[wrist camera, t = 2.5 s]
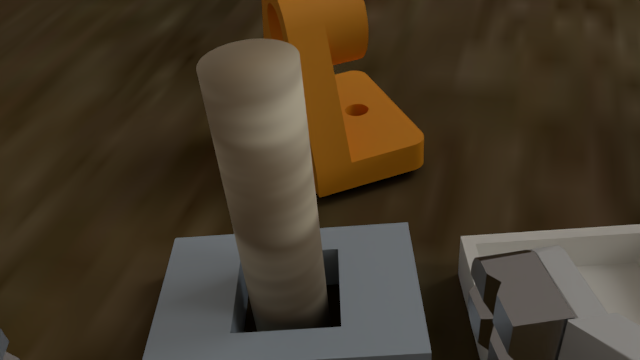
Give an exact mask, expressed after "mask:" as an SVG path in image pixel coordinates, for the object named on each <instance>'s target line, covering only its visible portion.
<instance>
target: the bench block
mask: <svg viewBox="0 0 640 360" xmlns="http://www.w3.org/2000/svg"><path fill="white" fill-rule="evenodd" d="M320 234H321V243H322V252H323V260H324V269H325V277H326V285H334V284H339V285H340V309H341V327H327V328H311V329H294V330H278V331H261V332H245V333H244V328H245V320H246V311H247V303H248V291H247V287H246V282H245V278H244V274H243V269H242V265H241V261H240V256H239V252H238V248H237V243H236V239H235V235H234V234H229V235H214V236H200V237H185V238H175V241H174V245H173V249H172V252H171V256H170V260H169V263H168V267H167V271H166V274H165V278H164V282H163V285H162V289H161V293H160V296H159V300H158V304H157V307H156V311H155V315H154V318H153V322H152V326H151V329H150V333H149V337H148V340H147V344H146V348H145V351H144V355H143V358H142V360H431V356H432V352H431V347H430V341H429V336H428V330H427V325H426V319H425V314H424V308H423V303H422V298H421V292H420V287H419V281H418V276H417V270H416V265H415V259H414V254H413V248H412V243H411V238H410V232H409V227H408V222H404V223H389V224H375V225H360V226H346V227H331V228H320Z"/></svg>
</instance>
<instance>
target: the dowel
mask: <svg viewBox="0 0 640 360" xmlns="http://www.w3.org/2000/svg"><path fill="white" fill-rule="evenodd" d="M196 70H197V75H198V79H199V84H200V88H201V92H202V97H203V101H204V105H205V109H206V114H207V118H208V122H209V127H210V131H211V135H212V140H213V144H214V148H215V153H216V157H217V161H218V166H219V170H220V174H221V179H222V183H223V187H224V192H225V196H226V200H227V205H228V209H229V213H230V217H231V222H232V226H233V230H234V235H235V239H236V243H237V248H238V252H239V256H240V261H241V265H242V269H243V274H244V278H245V282H246V287H247V291H248V295H249V300H250V304H251V308H252V312H253V317H254V321H255V325H256V330H257V332H261V331H278V330H294V329H311V328H327V327H330V324H331V320H330V312H329V303H328V295H327V286H326V277H325V269H324V260H323V252H322V243H321V234H320V226H319V217H318V209H317V200H316V191H315V183H314V174H313V166H312V157H311V148H310V140H309V131H308V123H307V114H306V105H305V97H304V88H303V80H302V71H301V62H300V54H299V51H298V50H297V48H296V47H294V46H293V45H291V44H289V43H287V42H284V41H280V40H275V39H248V40H241V41H236V42H232V43H229V44H226V45H223V46H220V47H218V48H216V49H214V50H212V51H210V52H208V53H207V54H206V55H204V56H203V57H202V58H201V59H200V60H199V62H198V64H197V67H196Z"/></svg>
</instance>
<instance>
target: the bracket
mask: <svg viewBox="0 0 640 360" xmlns="http://www.w3.org/2000/svg"><path fill="white" fill-rule="evenodd" d="M262 15H263V33H264V39H275V40H280V41H284V42H287V43H289V44H291V45H293V46H294V47H296V48H297V50H298V51H299V54H300V62H301V71H302V80H303V88H304V97H305V105H306V114H307V123H308V131H309V140H310V148H311V157H312V166H313V174H314V183H315V191H316V193H317V194H318V196H319V198H320V197H324V196H327V195H331V194H334V193H337V192H341V191H344V190H348V189H351V188H355V187H358V186H361V185H365V184H368V183H372V182H375V181H378V180H382V179H385V178H389V177H392V176H396V175H399V174H402V173H406V172H409V171H413V170H416V169H418V168H420V167H421V166H422V165H423V162H424V134H423V133H422V132H421V131H420V129H419V128H418V127H417V126H416V125H415V124H414V123H413V122H412V121H411V120H410V119H409V118H408V117H407V116H406V115H405V114H404V113H403V112H402V111H401V110H400V109H399V108H398V107H397V106H396V104H395V103H394V102H393V101H392V100H391V99H390V98H389V97H388V96H387V95H386V94H385V93H384V92H383V91H382V90H381V89H380V88H379V87H378V86H377V85H376V84H375V83H374V82H373V81H372V79H371V78H370V77H369V76H368V75H367V74H366V73H364V72H361V71H348V72H344V73H340V74H336V75H335V74H334V69H333V65H336V64H340V63H344V62H348V61H352V60H357V59H361V58H362V57H363V56H364V55H365V53H366V50H367V46H368V20H367V13H366V8H365V3H364V0H262Z"/></svg>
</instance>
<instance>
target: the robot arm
mask: <svg viewBox="0 0 640 360" xmlns="http://www.w3.org/2000/svg"><path fill="white" fill-rule="evenodd" d="M471 276H472V278H473V280H474V282H475V285H474V286H473V288H472V289H471V290H470V291H469V296H468V309H469V317H470V322H471V326H472V329H473V332H474V335H475V337H476V340H477V342H478V344H480V345H481V346H483V347H484V348H486V349H487V350H488V358H487V360H640V325H638V324H636V323H634V322H633V321H631V320H629V319H627V318H626V317H624V316H622V315H620V314H618V313H607V311H606V310H605V308H604V307H603V305H602V304H601V302H600V301H599V299H598V298H597V296H596V295H595V294H594V292H593V291H592V289H591V288H590V286H589V285H588V283H587V282H586V280H585V279H584V277H583V276H582V274H581V273H580V272H579V270H578V269H577V267H576V266H575V264H574V263H573V261H572V260H571V258H570V257H569V255H568V254H567V252H566V251H565V250H564V248H562V247H561V246H559V245H555V246H548V247H542V248H535V249H530V250H522V251H515V252H509V253H502V254H496V255H490V256H483V257H477V258H474V260H473V262H472V267H471ZM8 343H9V341H8V339H7V338H6V336H5V335H4V333H3V332H2V330H1V329H0V360H20V359H19V358H17V357H15V356H13V355H11V354H9V353H7V352H6V349H7V346H8Z"/></svg>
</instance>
